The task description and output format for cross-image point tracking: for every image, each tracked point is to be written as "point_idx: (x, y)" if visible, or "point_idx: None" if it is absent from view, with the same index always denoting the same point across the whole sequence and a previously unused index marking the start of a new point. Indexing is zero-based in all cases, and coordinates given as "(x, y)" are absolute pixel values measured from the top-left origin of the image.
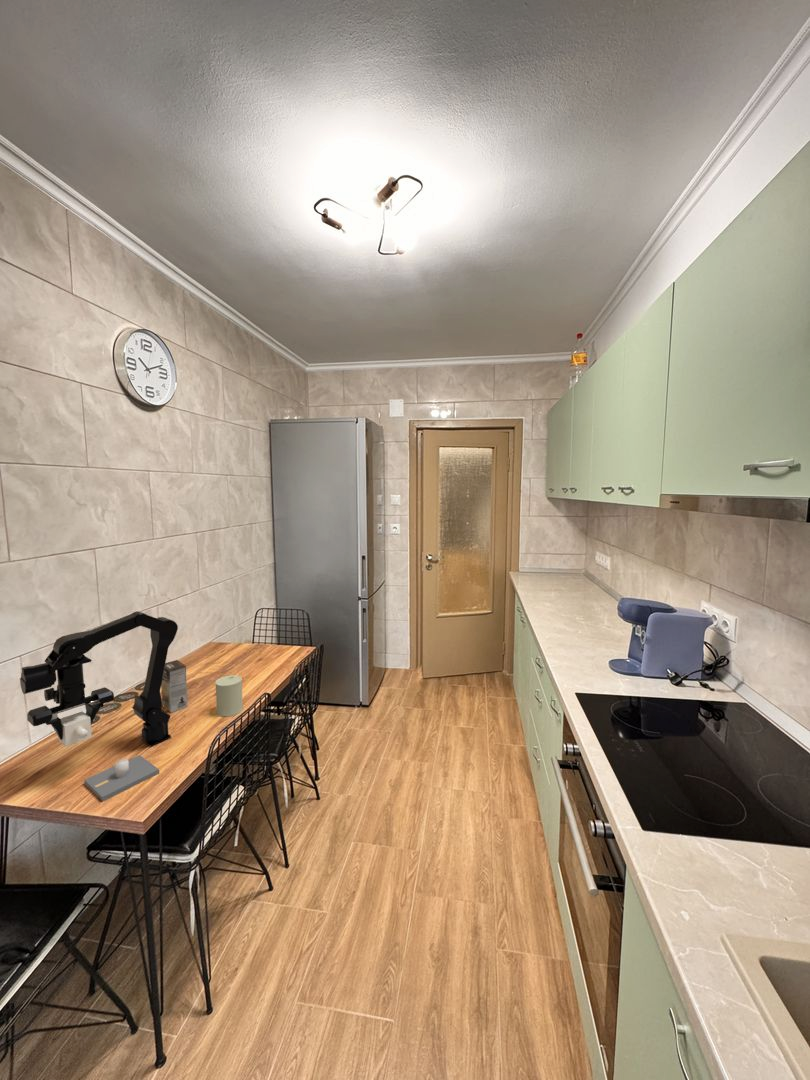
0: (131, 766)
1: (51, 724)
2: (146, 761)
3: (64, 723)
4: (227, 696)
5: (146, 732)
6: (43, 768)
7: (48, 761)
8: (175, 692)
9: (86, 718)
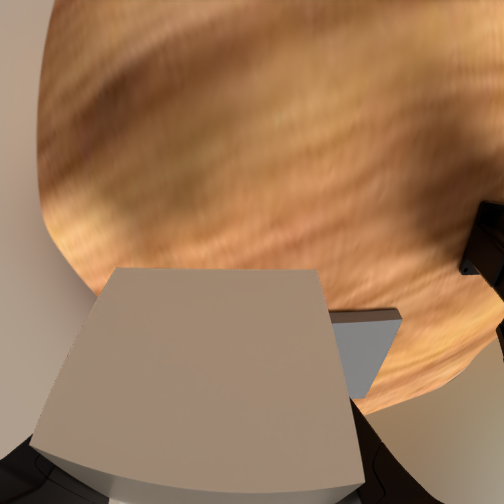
0: (346, 357)
1: (23, 455)
2: (381, 359)
3: (124, 501)
4: None
5: (489, 284)
6: (140, 62)
7: (173, 10)
8: None
9: None
